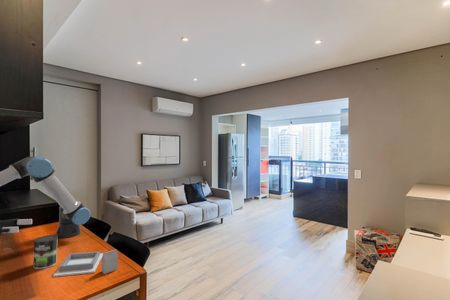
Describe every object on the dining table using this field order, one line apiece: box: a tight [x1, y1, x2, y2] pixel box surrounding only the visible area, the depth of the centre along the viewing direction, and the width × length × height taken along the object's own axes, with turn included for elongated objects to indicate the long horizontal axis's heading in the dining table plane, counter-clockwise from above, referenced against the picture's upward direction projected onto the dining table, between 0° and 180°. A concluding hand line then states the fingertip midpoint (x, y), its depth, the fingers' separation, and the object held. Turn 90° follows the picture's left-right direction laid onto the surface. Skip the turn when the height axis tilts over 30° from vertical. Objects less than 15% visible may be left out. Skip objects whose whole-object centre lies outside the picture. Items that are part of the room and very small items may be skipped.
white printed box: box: [100, 248, 119, 275], centre depth 124 cm, size 4×7×10 cm, turn 138°
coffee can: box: [32, 234, 59, 270], centre depth 128 cm, size 10×10×14 cm
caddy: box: [52, 251, 104, 278], centre depth 129 cm, size 22×18×3 cm
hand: (25, 225), depth 125 cm, fingers open, 13 cm apart
